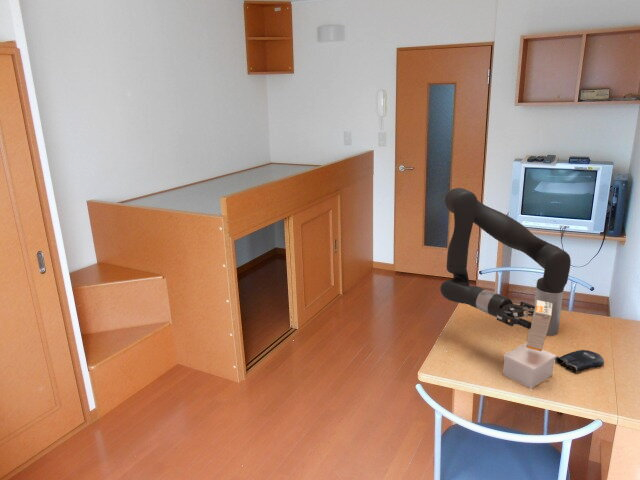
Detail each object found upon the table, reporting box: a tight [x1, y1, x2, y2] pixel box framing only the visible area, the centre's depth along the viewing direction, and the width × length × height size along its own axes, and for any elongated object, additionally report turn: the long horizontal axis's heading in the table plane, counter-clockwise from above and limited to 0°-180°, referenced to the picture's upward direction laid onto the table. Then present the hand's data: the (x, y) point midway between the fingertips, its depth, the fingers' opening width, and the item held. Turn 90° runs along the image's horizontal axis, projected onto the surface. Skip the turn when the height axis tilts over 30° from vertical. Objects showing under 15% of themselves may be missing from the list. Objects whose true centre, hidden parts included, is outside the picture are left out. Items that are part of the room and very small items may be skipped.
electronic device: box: [554, 349, 605, 374], centre depth 166 cm, size 9×6×15 cm
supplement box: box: [526, 300, 552, 351], centre depth 153 cm, size 8×5×13 cm, turn 154°
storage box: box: [502, 342, 557, 389], centre depth 159 cm, size 13×11×7 cm
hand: (538, 322), depth 153 cm, fingers closed on supplement box, 8 cm apart
